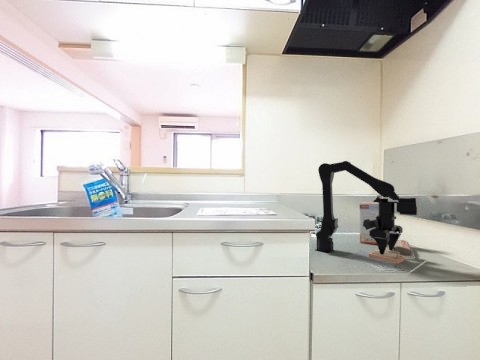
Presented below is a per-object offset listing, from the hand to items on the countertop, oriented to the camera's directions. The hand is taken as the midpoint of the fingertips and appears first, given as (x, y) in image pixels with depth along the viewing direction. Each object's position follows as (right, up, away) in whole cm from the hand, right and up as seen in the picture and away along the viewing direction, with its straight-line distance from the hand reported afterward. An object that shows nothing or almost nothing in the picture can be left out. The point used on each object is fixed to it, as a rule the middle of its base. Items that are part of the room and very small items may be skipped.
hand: (386, 252), depth 107 cm
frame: (0, -3, 0) cm, 3 cm away
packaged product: (+12, -4, +10) cm, 16 cm away
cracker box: (+10, -3, +28) cm, 30 cm away
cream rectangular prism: (0, -3, 0) cm, 3 cm away
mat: (-5, -3, 0) cm, 6 cm away
